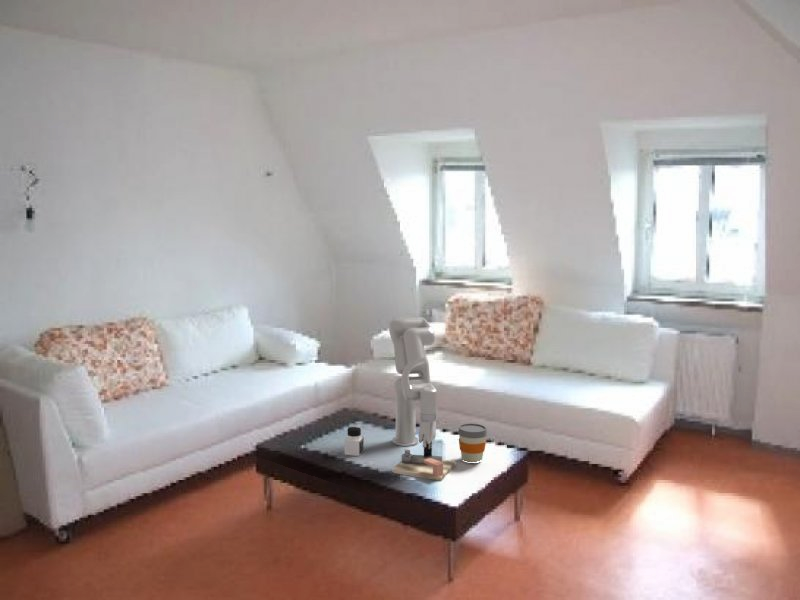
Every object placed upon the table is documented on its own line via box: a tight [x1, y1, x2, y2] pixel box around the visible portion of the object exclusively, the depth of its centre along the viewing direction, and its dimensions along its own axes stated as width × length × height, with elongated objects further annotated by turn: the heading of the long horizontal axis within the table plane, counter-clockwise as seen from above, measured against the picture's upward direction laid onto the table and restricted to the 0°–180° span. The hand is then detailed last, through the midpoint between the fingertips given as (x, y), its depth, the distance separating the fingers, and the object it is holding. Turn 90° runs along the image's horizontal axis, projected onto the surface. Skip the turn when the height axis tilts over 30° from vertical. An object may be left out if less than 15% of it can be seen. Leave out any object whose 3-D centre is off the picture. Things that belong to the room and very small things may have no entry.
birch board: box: [391, 449, 456, 482], centre depth 281 cm, size 18×22×7 cm
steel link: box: [401, 453, 443, 463], centre depth 284 cm, size 18×5×2 cm, turn 82°
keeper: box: [424, 458, 443, 477], centre depth 273 cm, size 8×4×5 cm, turn 43°
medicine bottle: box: [344, 425, 365, 457], centre depth 299 cm, size 7×7×12 cm
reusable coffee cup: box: [457, 422, 488, 462], centre depth 291 cm, size 13×13×15 cm
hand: (427, 456), depth 287 cm, fingers closed
